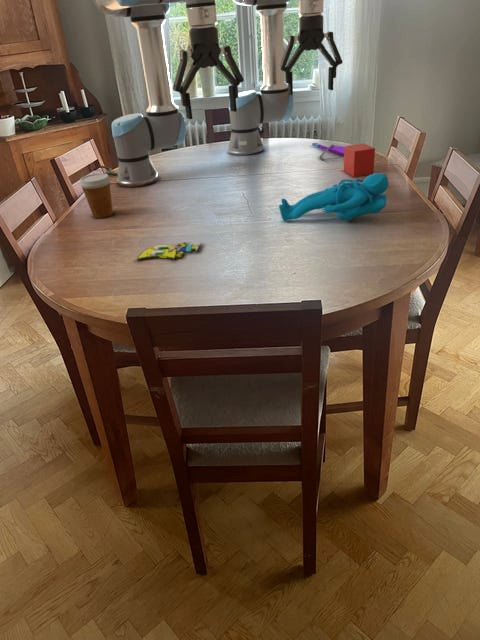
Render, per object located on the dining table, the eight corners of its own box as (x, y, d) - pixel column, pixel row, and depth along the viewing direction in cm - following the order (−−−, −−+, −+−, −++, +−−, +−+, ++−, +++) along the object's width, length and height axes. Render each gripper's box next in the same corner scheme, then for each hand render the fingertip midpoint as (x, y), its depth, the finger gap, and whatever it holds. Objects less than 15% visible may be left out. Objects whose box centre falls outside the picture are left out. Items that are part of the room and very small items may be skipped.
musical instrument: (347, 164, 184) (366, 144, 196) (347, 159, 183) (366, 139, 195) (292, 163, 197) (312, 145, 209) (291, 158, 195) (312, 140, 208)
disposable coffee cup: (82, 218, 153) (72, 181, 147) (99, 208, 161) (91, 172, 154) (106, 220, 150) (97, 182, 143) (123, 210, 157) (115, 173, 151)
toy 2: (282, 188, 144) (385, 161, 134) (291, 220, 149) (391, 197, 139) (274, 208, 131) (387, 180, 120) (284, 243, 136) (394, 219, 125)
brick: (353, 177, 168) (354, 151, 163) (343, 170, 175) (344, 146, 170) (373, 173, 169) (375, 148, 165) (362, 168, 176) (364, 143, 171)
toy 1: (193, 256, 121) (136, 257, 123) (194, 259, 121) (137, 260, 123) (201, 240, 129) (147, 241, 131) (201, 243, 130) (148, 244, 132)
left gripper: (161, 31, 117) (174, 123, 129) (252, 22, 125) (257, 109, 137) (152, 31, 123) (166, 119, 134) (239, 22, 131) (245, 106, 143)
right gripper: (273, 18, 140) (276, 97, 152) (354, 11, 143) (351, 89, 155) (267, 19, 146) (270, 94, 158) (345, 11, 149) (342, 86, 161)
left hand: (211, 114), depth 136 cm, fingers open, 13 cm apart
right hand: (310, 92), depth 156 cm, fingers open, 13 cm apart
